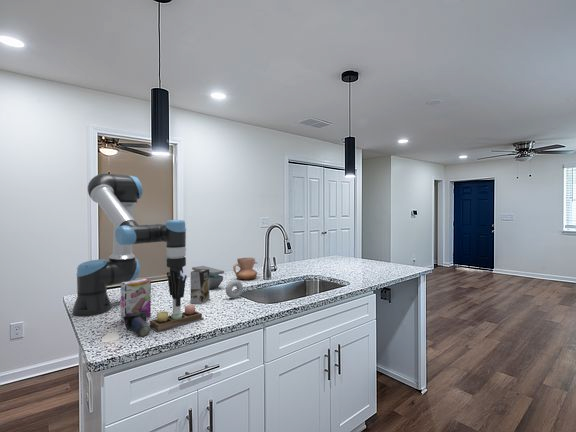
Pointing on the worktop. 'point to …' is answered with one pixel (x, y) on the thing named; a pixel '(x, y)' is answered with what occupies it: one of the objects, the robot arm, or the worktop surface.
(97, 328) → the worktop surface
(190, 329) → the worktop surface
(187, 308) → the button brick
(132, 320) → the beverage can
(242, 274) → the ceramic jug
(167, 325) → the wooden tray
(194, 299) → the coffee box
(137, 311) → the candy bar box
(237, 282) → the donut
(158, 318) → the button ochre
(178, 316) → the button sage
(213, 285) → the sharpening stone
